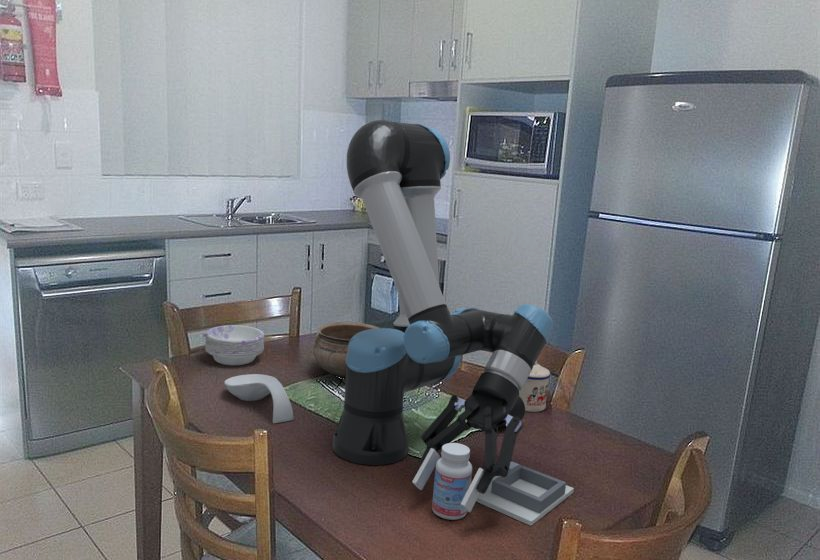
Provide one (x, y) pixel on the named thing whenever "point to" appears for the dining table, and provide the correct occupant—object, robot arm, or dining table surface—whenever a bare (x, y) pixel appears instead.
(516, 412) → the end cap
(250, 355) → the paper bowls
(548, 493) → the panel
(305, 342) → the dining table surface
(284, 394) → the spoon rest
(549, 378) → the teacup with lid
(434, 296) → the robot arm
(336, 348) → the cooking pot
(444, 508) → the pill bottle
